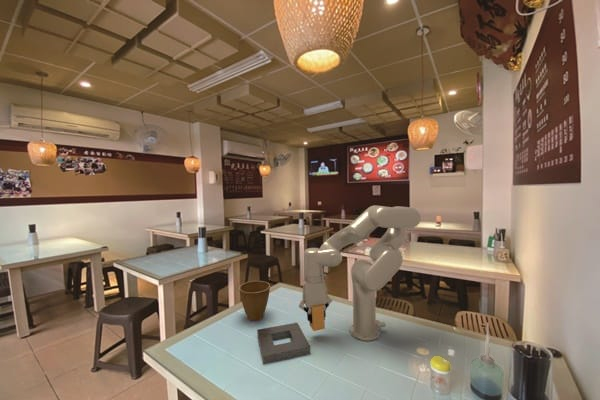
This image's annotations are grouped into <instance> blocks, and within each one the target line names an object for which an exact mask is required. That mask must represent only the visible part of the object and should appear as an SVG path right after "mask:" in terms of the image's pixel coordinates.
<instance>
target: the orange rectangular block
mask: <svg viewBox="0 0 600 400" xmlns="http://www.w3.org/2000/svg"><path fill="white" fill-rule="evenodd" d="M311 314H312V323H310V322H309V326H310V328H311V329H312V332H316V331H320V330H321V331H322V330H325V329H326V326H325V325H326V324H325V322H326V321H325V320H324V305H318V306H313V307H311Z"/></svg>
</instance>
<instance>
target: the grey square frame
mask: <svg viewBox="0 0 600 400" xmlns="http://www.w3.org/2000/svg"><path fill="white" fill-rule="evenodd" d="M256 330H257V334H256V335H257V341H258V345H259V350H260V355H261V359H262V364H263V365H266V364H271V363H276V362H280V361H284V360H289V359H294V358H298V357H302V356H307V355H311V345H310V343H309V341H308V339H307V338H306V336H305V334H304V332H303V329H301V327H300V325H299V323H298V322H293V323H286V324H281V325H276V326H275V325H274V326H270V327H265V328H259V329H256ZM287 338H289V340H290V341H289V342H283V343H278V344H275V343H274V341H277V340H283V339H287Z"/></svg>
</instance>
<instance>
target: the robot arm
mask: <svg viewBox="0 0 600 400" xmlns="http://www.w3.org/2000/svg"><path fill="white" fill-rule="evenodd" d="M421 216H422V215H421V213H420V212H419V210H418V209H416V208H413V207H408V206H399V205H397V206H396V205H395V206H392V207H391V206H384V205H371V206H369V207H368V208H366V209H365V210H364V211H363V212H362V213H361V214H360V215H358V217H357V218H355V219H354V220H353V221H352V222H351V223H350V224H349V225H348V226H345V227H343V228H342V229H341V230H339V231H336V233H334V234H332V235H331V236H330V237H329V238H328V239H327V240H325V241H324V242H323V243H322V244H321V245H320V247H319V248H318V247H309V248H306V249H304V251H303V262H304V279H305V280H304V281H303V282H302V300H301V301H300V303H299V305H298V308H299V309H301V310H302V311H304V312H305V313H306V315H307V317H306V319H307V321H308V322H309V324H310V323H312V314H311V307H313V306H318V305H324V321H326V315H327V314H326V311H327V309H328V307H329V306H330V304H331V303H332V302H333V299H332V298H331V297H330V296H329V295H328V288H327V285H326V281H325V277H327V274H326V273H324V267H329V268H330V267H331V268H332V267H337V266H339V265H340V264H341V262H342V261H343V255H342V252H341V250H342V249H343V248H344V247H346V246H348V245H351V244H354V243H359V242H362V241H364V240H365V239H367V237H368V236H369V235H371V233H373V232H374V231H375V230H376V229H377V228H379V227H380V228H384V229H387V230H386V232H385V233H383V235H382V236H381V238H379V240H377V242H376V243H375V244H374V245H373V246H372V247H371V249H370V251H369V254H368V255H369V258H370V259H371V260H372V261H373V263H371V262H370V261H368V260H366V259H357V260H356V261H354V262H353V264H352V266H351V270H350V275H351V283H352V314H353V316H352V319H353V320H352V321H353V322H352V323H353V324H351V325H350V327H349V333H350V334H351V336H353V338H356V339H357V340H360V341H364V342H365V341H366V342H368V341H369V342H371V341H374V340H377V339H378V338H380V328H385V327H386V326H387V324H386V322H385V321H381V322H380V320H379V319H377V318H376V316H377V314H376V313H377V312H376V310H377V309H376V307H377V306H376V305H377V302H376V300H377V299H376V293H377V291H380V290H381V289H382V288H384V287H385V286H386V285H387V283H389V281H391V279H392V278H393V277H394V276H395V274H397V272H398V271H399V270H400V268H401V267H402V264H403V261H404V259H403V254H402V252H401V251H400V249H401V247H402V246H403V245H404V243H405V242H406V239H407V229H414V228H415V227H417V226H418V225H419V224H420V222H422V221H421V220H422V217H421Z"/></svg>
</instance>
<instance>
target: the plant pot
mask: <svg viewBox="0 0 600 400" xmlns="http://www.w3.org/2000/svg"><path fill="white" fill-rule="evenodd" d="M238 289H239V296H240V300H241V303H242V304H241V305H242V306H243V310H244V312H245V315H246V318H247V320H248V321H250V322H259V321H261V320H262V319H263V318H264V315H265V312H266V310H267V309H266V308H267V305H268V302H269V297H270V296H269V295H270V289H271V285H270V283H269V282H267V281H263V280H251V281H247V282H244V283H242V284H241V285H240V286H239V288H238Z"/></svg>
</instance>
